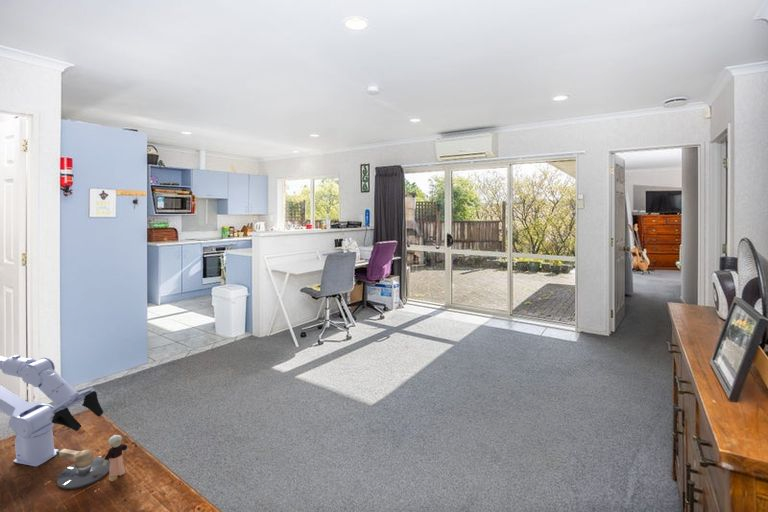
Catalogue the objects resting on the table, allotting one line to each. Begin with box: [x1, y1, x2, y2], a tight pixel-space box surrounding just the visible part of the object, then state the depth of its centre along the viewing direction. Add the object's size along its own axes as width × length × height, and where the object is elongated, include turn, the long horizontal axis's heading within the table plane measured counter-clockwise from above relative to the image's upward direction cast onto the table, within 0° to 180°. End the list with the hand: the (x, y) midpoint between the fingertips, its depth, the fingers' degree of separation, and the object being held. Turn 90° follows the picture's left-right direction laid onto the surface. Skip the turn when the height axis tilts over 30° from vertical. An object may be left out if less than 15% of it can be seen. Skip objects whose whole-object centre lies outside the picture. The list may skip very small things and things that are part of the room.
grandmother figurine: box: [102, 434, 130, 482], centre depth 121 cm, size 8×4×13 cm, turn 168°
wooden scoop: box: [56, 447, 94, 468], centre depth 122 cm, size 11×4×3 cm, turn 77°
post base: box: [56, 457, 110, 490], centre depth 121 cm, size 13×13×3 cm
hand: (90, 421), depth 125 cm, fingers open, 7 cm apart
